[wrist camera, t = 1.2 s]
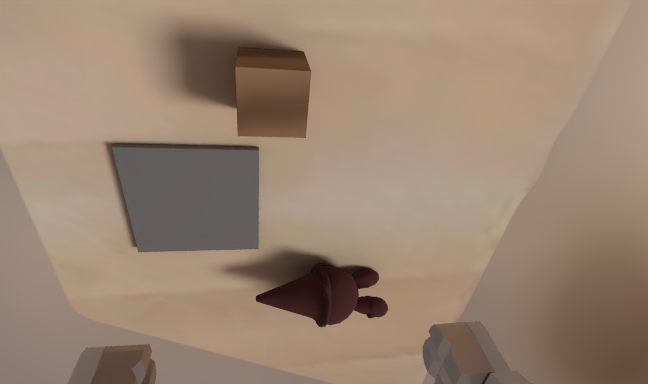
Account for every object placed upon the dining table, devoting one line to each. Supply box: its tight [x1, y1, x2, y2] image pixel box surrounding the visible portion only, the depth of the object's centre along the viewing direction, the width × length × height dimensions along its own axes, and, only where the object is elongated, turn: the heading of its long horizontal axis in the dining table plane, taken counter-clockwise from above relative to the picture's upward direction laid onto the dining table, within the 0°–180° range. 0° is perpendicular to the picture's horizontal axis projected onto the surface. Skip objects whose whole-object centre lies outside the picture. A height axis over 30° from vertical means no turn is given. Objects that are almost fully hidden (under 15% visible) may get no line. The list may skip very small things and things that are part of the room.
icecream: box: [256, 263, 388, 327], centre depth 41 cm, size 7×7×15 cm
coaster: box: [112, 144, 259, 252], centre depth 35 cm, size 12×12×1 cm
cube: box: [235, 48, 311, 138], centre depth 28 cm, size 5×5×5 cm
